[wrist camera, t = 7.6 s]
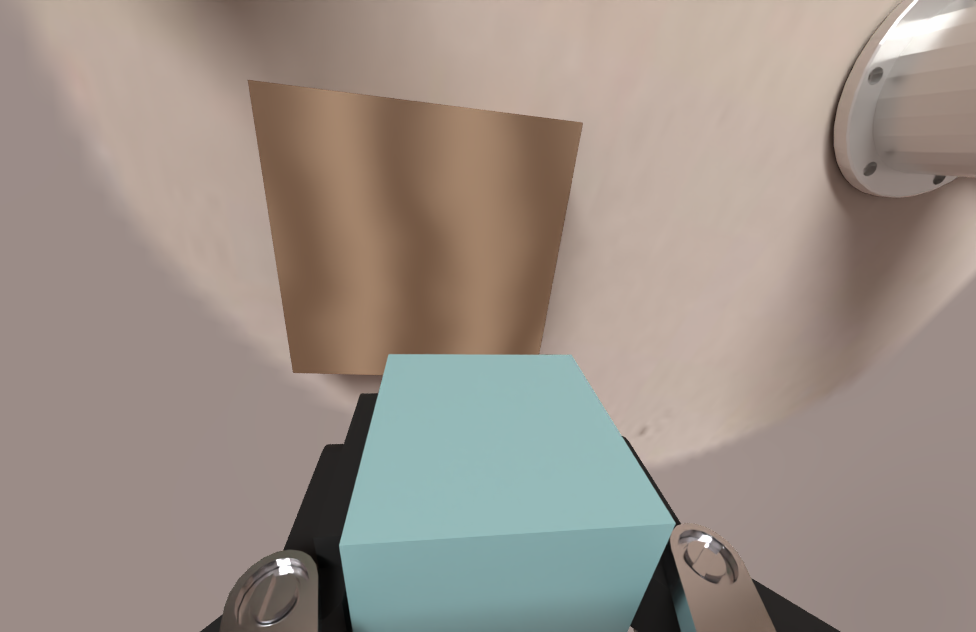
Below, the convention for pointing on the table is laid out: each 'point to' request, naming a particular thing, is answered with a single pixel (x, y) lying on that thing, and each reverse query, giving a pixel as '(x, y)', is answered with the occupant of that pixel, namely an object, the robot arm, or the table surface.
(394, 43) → the table surface
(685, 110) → the table surface
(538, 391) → the teal cube
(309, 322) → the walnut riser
